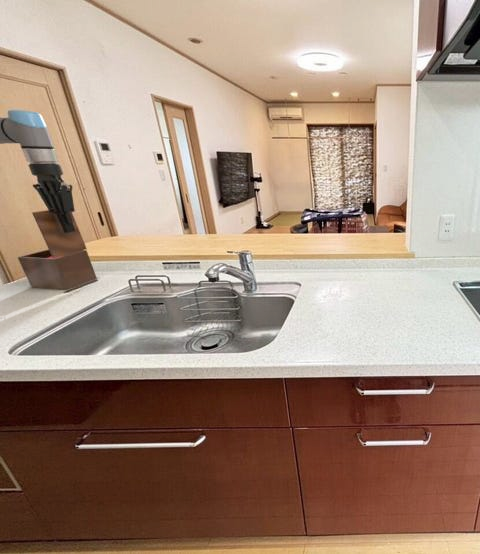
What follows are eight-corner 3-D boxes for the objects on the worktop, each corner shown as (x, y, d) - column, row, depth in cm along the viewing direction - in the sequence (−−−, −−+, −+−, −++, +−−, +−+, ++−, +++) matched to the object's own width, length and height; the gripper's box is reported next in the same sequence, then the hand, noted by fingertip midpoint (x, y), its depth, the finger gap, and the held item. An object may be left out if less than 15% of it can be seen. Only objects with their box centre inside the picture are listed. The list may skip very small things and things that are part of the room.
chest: (32, 290, 113) (17, 257, 108) (64, 278, 124) (52, 248, 119) (68, 292, 112) (54, 259, 107) (97, 280, 122) (86, 250, 117)
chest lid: (31, 212, 100) (33, 212, 100) (68, 207, 111) (69, 207, 111) (52, 258, 106) (54, 258, 106) (85, 249, 117) (86, 249, 117)
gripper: (72, 163, 102) (95, 230, 111) (40, 162, 103) (65, 228, 112) (48, 163, 95) (74, 235, 104) (13, 162, 96) (42, 233, 105)
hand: (69, 231), depth 108 cm, fingers closed
